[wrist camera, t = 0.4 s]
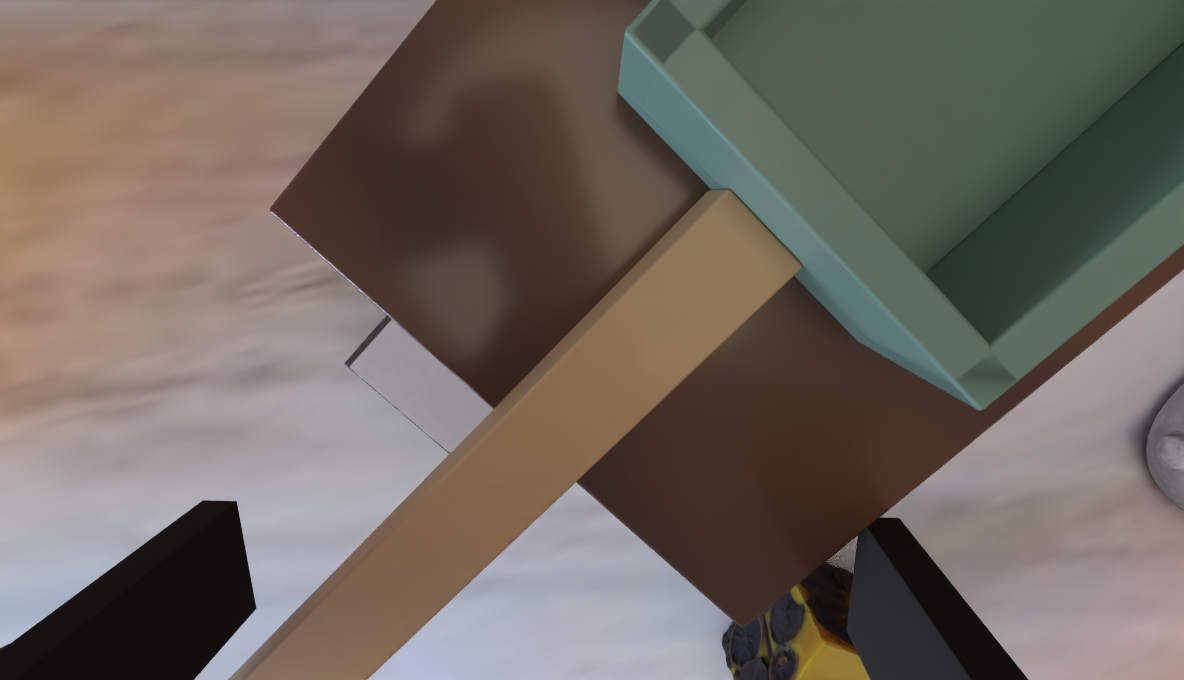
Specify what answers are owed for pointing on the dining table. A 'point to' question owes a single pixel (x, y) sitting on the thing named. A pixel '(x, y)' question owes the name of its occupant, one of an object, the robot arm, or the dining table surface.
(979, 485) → the dining table surface
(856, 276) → the scoop
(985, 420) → the shelf
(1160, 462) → the dish
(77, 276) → the dining table surface
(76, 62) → the dining table surface
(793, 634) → the candle
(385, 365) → the whiteboard
